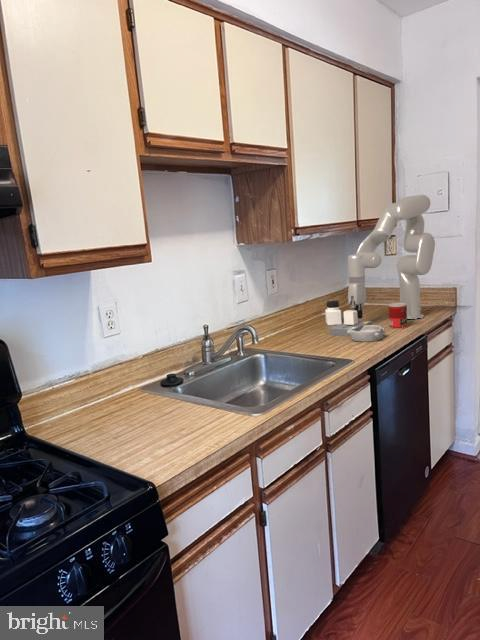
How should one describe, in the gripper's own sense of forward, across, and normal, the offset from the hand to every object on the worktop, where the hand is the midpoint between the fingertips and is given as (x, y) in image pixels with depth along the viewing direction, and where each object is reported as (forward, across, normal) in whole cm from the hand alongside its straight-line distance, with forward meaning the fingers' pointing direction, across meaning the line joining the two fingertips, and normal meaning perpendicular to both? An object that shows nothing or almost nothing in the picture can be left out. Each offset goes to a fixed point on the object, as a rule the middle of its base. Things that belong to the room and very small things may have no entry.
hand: (358, 318), depth 228 cm
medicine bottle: (+5, -5, -17) cm, 18 cm away
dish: (+5, +20, +14) cm, 25 cm away
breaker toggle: (+1, +8, 0) cm, 8 cm away
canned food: (+5, -6, +17) cm, 19 cm away
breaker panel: (+5, +8, 0) cm, 9 cm away
